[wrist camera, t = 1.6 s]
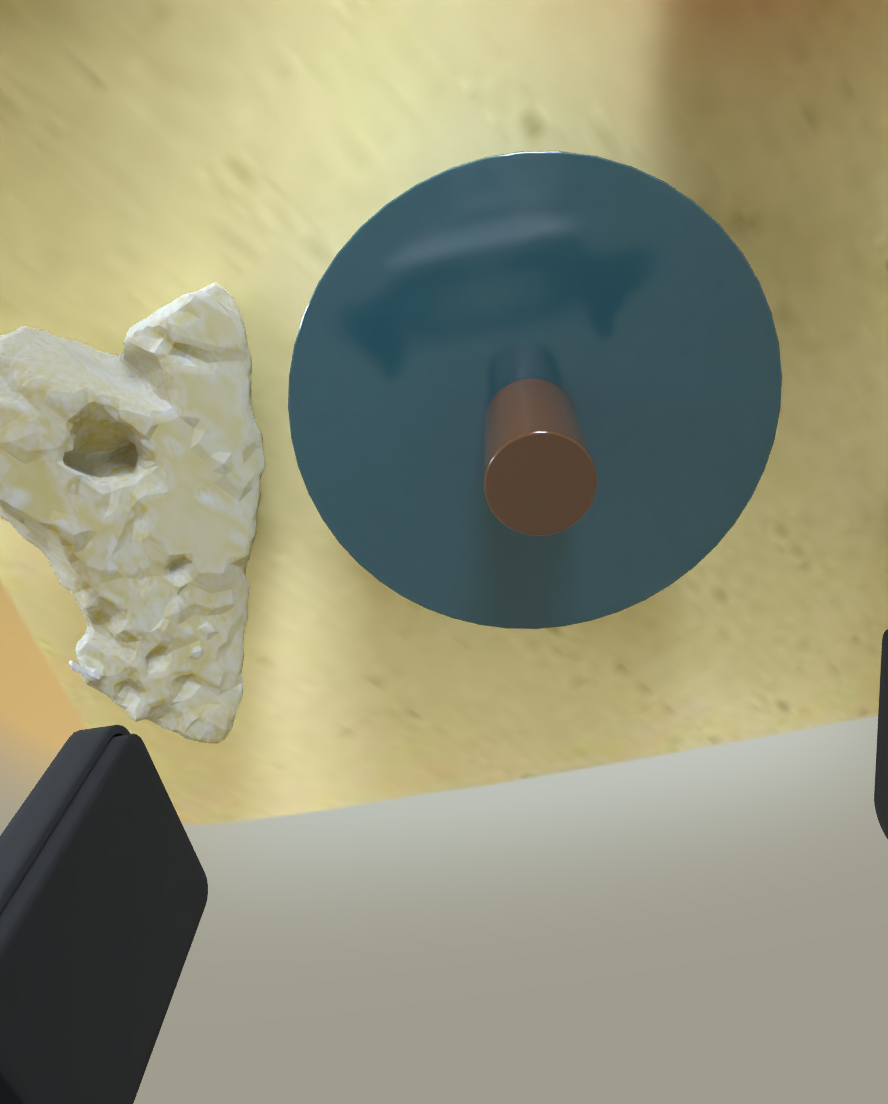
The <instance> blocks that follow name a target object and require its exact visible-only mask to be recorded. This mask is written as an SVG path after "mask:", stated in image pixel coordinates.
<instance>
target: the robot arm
mask: <svg viewBox="0 0 888 1104" xmlns="http://www.w3.org/2000/svg"><path fill="white" fill-rule="evenodd" d="M874 801H875V809H876V813H877V817H878V820H879V823H880V826H881V828H882V830H883V832H884V834H885V835H886V837H887V839H888V630H886V631H885V632H884V634H883V639H882V655H881V674H880V694H879V714H878V735H877V754H876V775H875V794H874ZM207 895H208V884H207V878H206V875H205V872H204V870H203V868H202V866H201V864H200V862H199V860H198V858H197V856H196V853H195V851H194V849H193V847H192V845H191V842H190V841H189V838H188V836H187V834H186V832H185V830H184V828H183V825H182V823H181V821H180V819H179V817H178V815H177V813H176V810H175V808H174V806H173V804H172V802H171V800H170V798H169V796H168V793H167V791H166V789H165V787H164V785H163V783H162V781H161V779H160V776H159V774H158V772H157V770H156V768H155V766H154V764H153V761H152V759H151V757H150V755H149V753H148V751H147V749H146V747H145V744H144V742H143V741H142V739H141V738H140V737H139V736H138V735H136V734H130V733H129V731H128V730H127V729H126V728H125V727H123V726H120V725H114V726H107V727H99V728H92V729H85V730H79V731H77V732H74V733H73V734H72V736H71V737H69V739H68V740H67V741H66V743H65V744H64V746H63V747H62V749H61V750H60V752H59V753H58V754H57V756H56V757H55V759H54V760H53V761H52V763H51V764H50V766H49V767H48V769H47V770H46V771H45V773H44V775H43V776H42V777H41V779H40V780H39V781H38V783H37V784H36V786H35V787H34V789H33V790H32V792H31V793H30V794H29V796H28V797H27V799H26V800H25V802H24V803H23V804H22V806H21V807H20V809H19V810H18V812H17V813H16V814H15V816H14V817H13V819H12V820H11V821H10V823H9V825H8V826H7V827H6V829H5V830H4V832H3V833H2V834H1V836H0V1104H133V1103H134V1100H135V1097H136V1094H137V1092H138V1089H139V1086H140V1083H141V1081H142V1078H143V1075H144V1072H145V1070H146V1067H147V1064H148V1061H149V1058H150V1056H151V1053H152V1051H153V1048H154V1045H155V1042H156V1039H157V1037H158V1034H159V1031H160V1029H161V1026H162V1023H163V1020H164V1018H165V1015H166V1012H167V1010H168V1006H169V1004H170V1001H171V998H172V996H173V993H174V990H175V988H176V985H177V982H178V979H179V977H180V974H181V971H182V968H183V966H184V963H185V960H186V957H187V955H188V952H189V949H190V947H191V944H192V941H193V938H194V936H195V933H196V930H197V927H198V924H199V922H200V919H201V916H202V914H203V911H204V908H205V905H206V901H207Z"/></svg>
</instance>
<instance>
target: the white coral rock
mask: <svg viewBox="0 0 888 1104" xmlns="http://www.w3.org/2000/svg"><path fill="white" fill-rule="evenodd" d="M251 366H252V360H251V356H250V352H249V348H248V343H247V338H246V333H245V327H244V323H243V319H242V315H241V313H240V310H239V308H238V306H237V303H236V301H235V299H234V297H233V296H232V295H231V294H229V293H228V292H227V291H226V290H225V289H224V288H223V287H222V286H220V285H219V284H217V283H216V282H213V283H211V284H210V285H208V286H206V287H205V288H203V289H202V290H199V291H196V292H189V293H186V294H184V295H183V296H181V297H178V298H177V299H175V300H174V301H173V302H171V303H170V304H168V305H165V306H162V307H161V308H160V309H158V310H157V311H155V312H154V313H153V314H152V315H150V316H149V317H148V318H146V319H144V320H142V321H140V322H138V323H137V324H135V325H133V326H132V327H130V329H129V331H128V332H127V334H126V337H125V341H124V351H123V353H122V354H119V355H114V354H110V353H106V352H102V351H98V350H96V349H94V348H92V347H90V346H88V345H85V344H83V343H80V342H77V341H74V340H71V339H65V338H60V337H57V336H55V335H53V334H51V333H49V332H46V331H44V330H41V329H34V328H30V327H26V326H22V327H20V328H19V329H17V330H15V331H13V332H11V333H8V334H5V335H3V336H0V516H1V517H2V518H4V519H5V520H6V521H8V522H9V523H10V524H11V525H12V526H13V527H14V528H15V529H16V530H17V531H18V533H19V534H20V535H21V536H22V537H23V538H24V539H26V540H27V541H29V542H30V543H32V544H33V545H34V546H36V547H37V548H39V549H40V550H41V551H42V552H43V553H44V555H45V556H46V557H47V559H48V560H49V563H50V566H51V567H52V569H53V570H54V572H55V574H56V575H57V577H58V579H59V580H60V584H61V585H62V586H64V587H65V588H66V589H68V590H69V591H71V592H72V594H73V596H74V598H75V600H76V602H77V604H78V605H79V607H80V609H81V611H82V613H83V615H84V617H85V619H86V621H87V623H88V627H87V630H86V634H85V635H84V636H83V637H82V638H81V639H80V640H79V642H78V643H77V646H76V651H75V653H76V656H77V659H78V662H79V664H77V663H75V662H74V661H72V660H70V662H69V665H70V667H71V669H72V670H74V671H76V672H78V673H79V674H81V675H82V677H83V680H84V682H85V683H86V684H87V685H89V686H91V687H93V688H95V689H97V690H99V691H100V692H102V693H104V694H106V695H107V696H108V697H109V698H110V699H111V700H112V701H114V702H115V703H116V704H118V705H119V706H120V707H122V708H123V709H124V710H125V711H126V712H127V713H128V714H129V716H130V717H131V718H132V719H133V720H134V721H136V722H137V721H139V720H143V719H148V720H150V721H152V722H154V723H156V724H158V725H160V726H161V727H162V728H164V729H168V730H171V731H173V732H176V733H178V734H180V735H181V736H182V737H184V738H186V739H190V740H195V741H199V742H205V743H219V742H221V741H223V740H225V738H226V737H227V735H228V733H229V732H230V730H231V729H232V726H233V722H234V718H235V714H236V710H237V708H238V706H239V703H240V701H241V699H242V694H243V680H242V666H243V659H244V651H243V642H244V629H245V625H246V622H247V619H248V613H247V604H248V593H249V582H248V579H247V576H246V564H247V562H248V560H249V557H250V550H251V546H252V543H253V541H254V538H255V534H256V519H257V510H258V505H259V501H260V497H261V493H260V477H261V474H262V471H263V469H264V467H265V458H264V453H263V439H262V435H261V433H260V430H259V428H258V426H257V424H256V421H255V418H254V415H253V412H252V408H251V403H250V397H251Z"/></svg>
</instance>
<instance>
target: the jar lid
mask: <svg viewBox="0 0 888 1104" xmlns="http://www.w3.org/2000/svg"><path fill="white" fill-rule="evenodd" d="M781 386H782V371H781V360H780V349H779V342H778V338H777V333H776V329H775V325H774V321H773V317H772V312H771V310H770V307H769V305H768V302H767V300H766V297H765V295H764V292H763V290H762V287H761V285H760V282H759V280H758V278H757V277H756V275H755V273H754V272H753V270H752V268H751V267H750V265H749V263H748V261H747V260H746V258H745V256H744V255H743V253H742V251H741V250H740V249H739V248H738V246H737V245H736V244H735V243H734V241H733V240H732V239H731V238H730V237H729V235H728V234H727V233H726V232H725V230H724V229H723V228H722V227H721V225H720V224H719V223H717V222H716V221H715V220H714V219H713V218H712V217H711V216H710V215H709V214H708V213H706V212H705V211H704V210H703V209H702V208H701V207H700V206H699V205H698V204H696V203H695V202H694V201H693V200H691V199H690V198H688V197H687V196H685V195H684V194H682V193H681V192H679V191H678V190H676V189H675V188H673V187H672V186H670V185H669V184H667V183H666V182H664V181H662V180H660V179H658V178H655V177H653V176H651V175H649V174H647V173H645V172H642V171H640V170H638V169H636V168H634V167H632V166H628V165H625V164H621V163H618V162H615V161H611V160H608V159H604V158H601V157H597V156H591V155H584V154H577V153H569V152H562V151H521V152H515V153H509V154H502V155H496V156H490V157H484V158H481V159H478V160H475V161H472V162H468V163H465V164H462V165H459V166H455V167H452V168H450V169H448V170H445V171H443V172H441V173H439V174H437V175H435V176H433V177H431V178H429V179H426V180H424V181H422V182H420V183H418V184H417V185H415V186H414V187H412V188H410V189H409V190H407V191H406V192H404V193H403V194H401V195H400V196H398V197H397V198H395V199H394V200H392V201H391V202H389V203H388V204H386V205H385V206H384V207H383V208H382V209H381V210H379V211H378V212H377V213H376V214H375V215H374V216H373V217H371V218H370V219H369V220H368V221H367V222H366V223H365V224H363V225H362V226H361V227H360V228H359V229H358V230H357V232H356V233H355V234H354V235H353V236H352V237H351V239H350V240H349V241H348V242H347V243H346V244H345V245H344V247H343V248H342V249H341V250H340V251H339V252H338V254H337V255H336V256H335V258H334V260H333V261H332V263H331V264H330V266H329V267H328V269H327V270H326V272H325V273H324V275H323V277H322V278H321V280H320V281H319V283H318V285H317V287H316V289H315V291H314V293H313V295H312V298H311V300H310V302H309V304H308V306H307V308H306V310H305V313H304V315H303V318H302V322H301V325H300V328H299V331H298V335H297V338H296V341H295V344H294V350H293V356H292V362H291V368H290V374H289V397H288V410H289V420H290V429H291V438H292V442H293V446H294V451H295V455H296V459H297V463H298V467H299V470H300V472H301V475H302V477H303V480H304V483H305V485H306V488H307V490H308V493H309V495H310V497H311V499H312V501H313V502H314V504H315V506H316V508H317V510H318V512H319V514H320V515H321V517H322V519H323V521H324V522H325V523H326V525H327V526H328V527H329V529H330V530H331V532H332V533H333V534H334V536H335V537H336V539H337V540H338V541H339V543H340V544H341V545H342V546H343V547H344V548H345V549H346V550H347V551H348V552H349V554H350V555H351V556H352V557H353V558H354V559H355V560H356V561H357V562H358V563H359V564H360V565H361V566H362V567H364V568H365V569H366V570H367V571H368V572H369V573H371V574H372V575H373V576H374V577H375V578H376V579H378V580H379V581H380V582H382V583H383V584H385V585H386V586H388V587H389V588H391V589H392V590H394V591H395V592H397V593H398V594H400V595H401V596H403V597H405V598H407V599H409V600H411V601H413V602H415V603H417V604H419V605H421V606H423V607H425V608H427V609H429V610H432V611H435V612H437V613H440V614H443V615H446V616H448V617H451V618H454V619H458V620H462V621H466V622H471V623H475V624H479V625H485V626H493V627H501V628H516V629H539V628H550V627H560V626H567V625H572V624H577V623H582V622H587V621H591V620H595V619H598V618H601V617H604V616H607V615H610V614H613V613H616V612H619V611H621V610H624V609H626V608H628V607H630V606H633V605H635V604H637V603H639V602H641V601H644V600H646V599H647V598H649V597H651V596H653V595H654V594H656V593H658V592H659V591H661V590H663V589H664V588H666V587H668V586H669V585H671V584H672V583H674V582H675V581H676V580H678V579H679V578H680V577H682V576H683V575H684V574H686V573H687V572H688V571H689V570H691V569H692V568H693V567H695V566H696V565H697V564H698V563H699V562H700V561H701V560H702V559H703V558H704V557H705V556H706V555H707V554H708V553H709V552H710V551H711V550H712V549H713V548H714V547H716V545H717V544H718V543H719V542H720V541H721V539H722V538H723V537H724V536H725V534H726V533H727V532H728V531H729V530H730V528H731V527H732V526H733V525H734V524H735V522H736V521H737V519H738V517H739V516H740V514H741V513H742V511H743V510H744V508H745V507H746V505H747V503H748V502H749V500H750V499H751V497H752V495H753V493H754V491H755V489H756V487H757V485H758V482H759V480H760V478H761V476H762V474H763V472H764V470H765V467H766V464H767V461H768V458H769V455H770V452H771V449H772V446H773V443H774V440H775V434H776V429H777V424H778V418H779V413H780V406H781Z"/></svg>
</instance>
